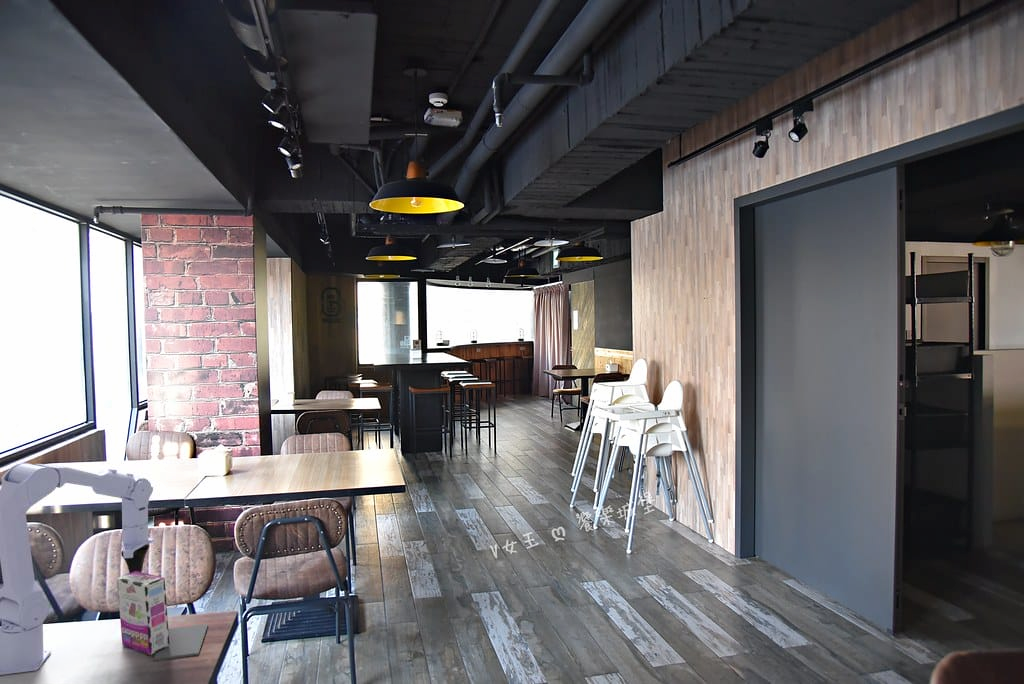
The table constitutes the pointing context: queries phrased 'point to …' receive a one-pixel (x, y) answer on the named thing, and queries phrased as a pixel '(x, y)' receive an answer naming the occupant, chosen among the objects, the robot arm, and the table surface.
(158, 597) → the candy bar box
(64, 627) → the table surface
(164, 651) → the mat
